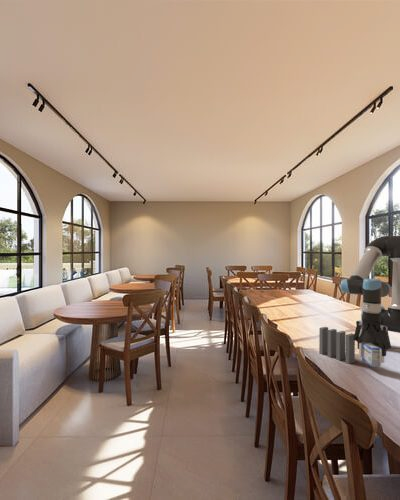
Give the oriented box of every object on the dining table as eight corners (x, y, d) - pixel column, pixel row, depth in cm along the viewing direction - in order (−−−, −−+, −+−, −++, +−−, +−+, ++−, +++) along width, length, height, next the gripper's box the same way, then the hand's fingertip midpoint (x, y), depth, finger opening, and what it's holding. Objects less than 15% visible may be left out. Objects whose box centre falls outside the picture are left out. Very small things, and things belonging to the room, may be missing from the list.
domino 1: (325, 351, 165) (325, 326, 165) (328, 352, 164) (328, 327, 164) (319, 353, 163) (319, 327, 162) (322, 354, 161) (322, 328, 161)
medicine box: (361, 360, 145) (361, 342, 145) (370, 360, 146) (370, 342, 146) (371, 366, 137) (371, 348, 137) (381, 366, 138) (381, 348, 138)
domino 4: (351, 360, 153) (351, 333, 152) (354, 361, 151) (354, 334, 151) (345, 362, 150) (345, 334, 150) (348, 363, 148) (349, 335, 148)
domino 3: (342, 357, 157) (342, 330, 157) (345, 358, 155) (345, 331, 155) (336, 359, 154) (336, 332, 154) (339, 360, 153) (339, 333, 153)
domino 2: (333, 354, 161) (333, 328, 161) (336, 355, 160) (336, 329, 159) (327, 356, 158) (327, 330, 158) (330, 357, 157) (330, 330, 157)
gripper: (345, 308, 149) (345, 354, 149) (392, 317, 130) (391, 368, 130) (354, 307, 153) (353, 351, 153) (400, 315, 134) (400, 365, 134)
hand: (371, 359), depth 141 cm, fingers closed on medicine box, 9 cm apart
